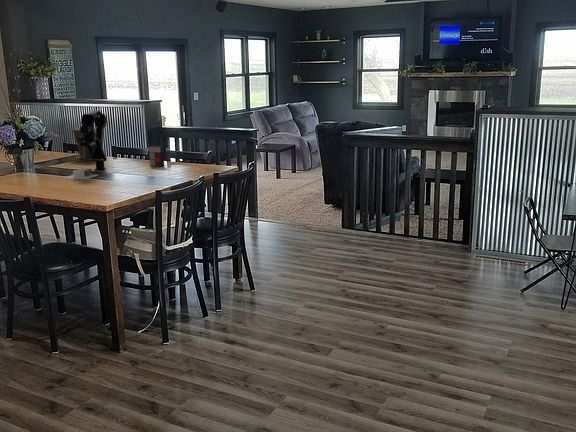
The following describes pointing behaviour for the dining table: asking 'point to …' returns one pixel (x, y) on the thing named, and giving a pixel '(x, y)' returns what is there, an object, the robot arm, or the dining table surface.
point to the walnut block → (82, 172)
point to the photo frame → (82, 149)
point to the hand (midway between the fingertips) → (91, 154)
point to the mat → (80, 177)
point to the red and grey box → (156, 156)
